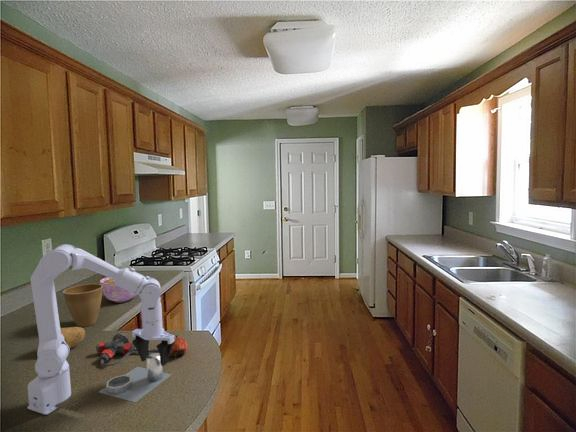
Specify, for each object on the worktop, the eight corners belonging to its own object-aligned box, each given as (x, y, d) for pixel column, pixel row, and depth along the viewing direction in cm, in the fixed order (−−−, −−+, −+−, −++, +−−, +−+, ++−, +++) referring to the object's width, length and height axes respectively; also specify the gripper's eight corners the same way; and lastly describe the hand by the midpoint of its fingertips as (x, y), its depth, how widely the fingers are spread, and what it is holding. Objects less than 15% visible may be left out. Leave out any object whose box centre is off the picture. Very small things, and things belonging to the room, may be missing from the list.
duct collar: (118, 396, 99) (118, 390, 99) (101, 391, 102) (100, 385, 102) (137, 383, 106) (136, 377, 105) (120, 378, 108) (119, 373, 108)
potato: (85, 350, 129) (83, 329, 128) (39, 359, 123) (37, 337, 123) (87, 340, 138) (86, 320, 137) (44, 347, 132) (43, 326, 132)
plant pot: (107, 315, 164) (105, 282, 162) (101, 327, 150) (99, 291, 148) (71, 319, 159) (68, 285, 158) (61, 332, 145) (58, 295, 143)
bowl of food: (92, 305, 178) (90, 283, 177) (117, 293, 197) (116, 273, 196) (127, 307, 174) (126, 284, 173) (150, 294, 194) (149, 274, 193)
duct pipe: (155, 383, 105) (154, 361, 105) (144, 380, 107) (143, 358, 106) (166, 375, 110) (165, 353, 109) (155, 372, 111) (154, 351, 111)
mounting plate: (135, 405, 96) (135, 402, 96) (98, 395, 102) (97, 391, 101) (172, 377, 110) (171, 374, 110) (137, 369, 115) (137, 366, 115)
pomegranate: (187, 366, 121) (192, 339, 129) (181, 356, 116) (185, 329, 124) (166, 368, 122) (172, 341, 129) (159, 359, 117) (165, 331, 124)
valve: (79, 372, 118) (106, 346, 132) (152, 380, 115) (172, 352, 130) (77, 356, 116) (104, 331, 131) (151, 363, 114) (171, 336, 128)
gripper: (180, 317, 108) (182, 359, 109) (143, 311, 113) (145, 352, 114) (164, 326, 101) (166, 371, 102) (125, 320, 106) (128, 362, 108)
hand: (154, 362), depth 108 cm, fingers open, 7 cm apart
